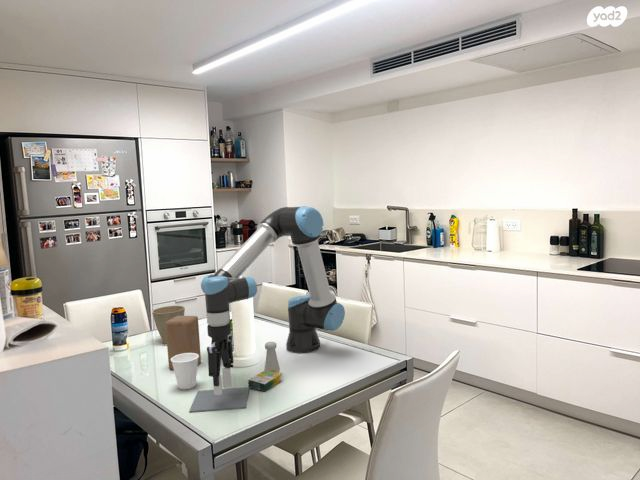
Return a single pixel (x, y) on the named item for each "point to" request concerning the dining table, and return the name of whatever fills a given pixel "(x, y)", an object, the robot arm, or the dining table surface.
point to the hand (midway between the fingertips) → (222, 390)
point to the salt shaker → (271, 358)
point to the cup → (185, 369)
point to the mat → (220, 400)
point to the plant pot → (166, 318)
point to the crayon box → (264, 380)
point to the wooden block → (182, 337)
